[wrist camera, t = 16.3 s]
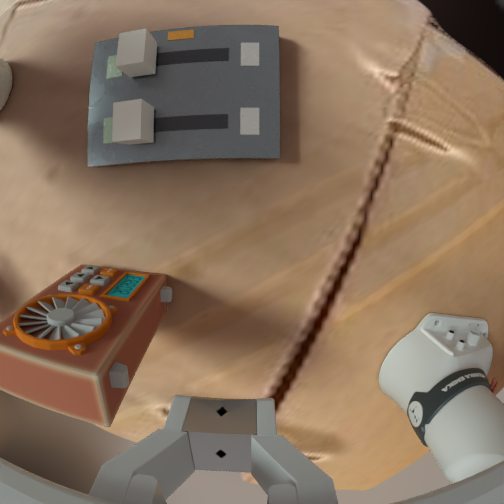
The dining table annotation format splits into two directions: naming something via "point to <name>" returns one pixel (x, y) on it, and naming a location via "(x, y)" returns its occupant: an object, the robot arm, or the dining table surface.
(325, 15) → the dining table surface
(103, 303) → the control panel
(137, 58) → the block
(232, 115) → the breaker box
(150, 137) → the block
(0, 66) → the lamp
